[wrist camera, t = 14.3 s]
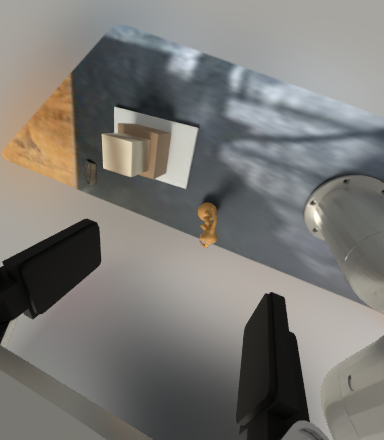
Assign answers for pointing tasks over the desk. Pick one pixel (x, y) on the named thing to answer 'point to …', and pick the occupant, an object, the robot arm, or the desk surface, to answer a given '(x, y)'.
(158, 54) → the desk surface
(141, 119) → the build board
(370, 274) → the robot arm
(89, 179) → the block
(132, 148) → the maple block
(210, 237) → the figurine
